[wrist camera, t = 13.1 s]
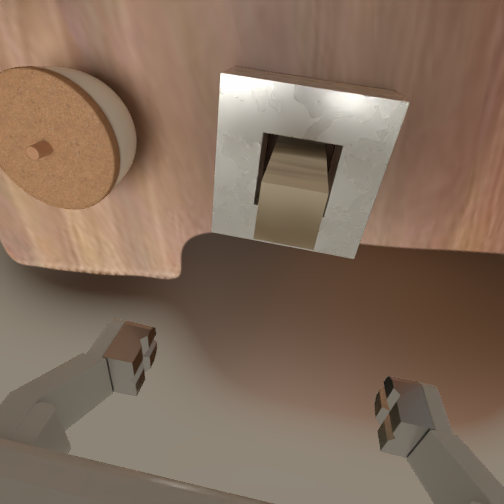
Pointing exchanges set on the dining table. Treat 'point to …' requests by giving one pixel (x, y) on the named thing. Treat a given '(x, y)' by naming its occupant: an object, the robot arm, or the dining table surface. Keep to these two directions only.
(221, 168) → the socket block
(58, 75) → the lidded jar
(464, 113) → the dining table surface
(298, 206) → the ash peg
